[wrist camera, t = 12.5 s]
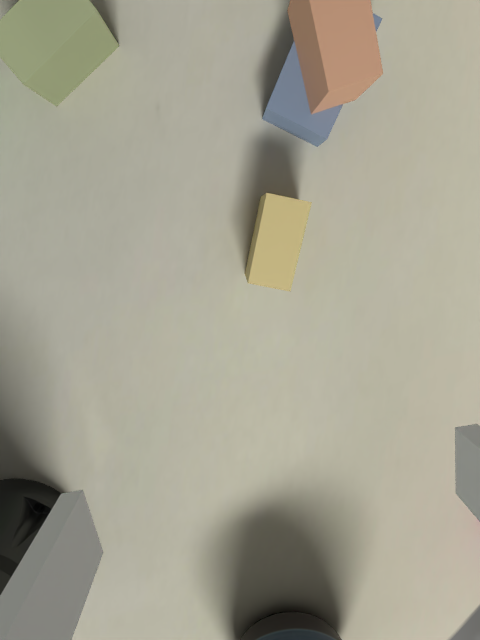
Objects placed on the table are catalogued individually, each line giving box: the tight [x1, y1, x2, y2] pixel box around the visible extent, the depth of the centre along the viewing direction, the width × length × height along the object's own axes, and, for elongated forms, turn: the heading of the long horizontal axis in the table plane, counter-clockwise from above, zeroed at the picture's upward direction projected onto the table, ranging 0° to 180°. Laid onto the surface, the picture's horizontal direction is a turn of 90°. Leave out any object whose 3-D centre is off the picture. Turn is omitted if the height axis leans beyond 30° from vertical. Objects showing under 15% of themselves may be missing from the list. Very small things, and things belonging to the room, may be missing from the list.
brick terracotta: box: [287, 0, 383, 114], centre depth 28 cm, size 8×4×6 cm, turn 17°
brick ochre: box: [245, 193, 312, 291], centre depth 36 cm, size 8×4×6 cm, turn 169°
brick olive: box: [0, 0, 119, 106], centre depth 31 cm, size 8×4×6 cm, turn 129°
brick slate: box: [262, 14, 382, 147], centre depth 33 cm, size 10×6×4 cm, turn 156°
